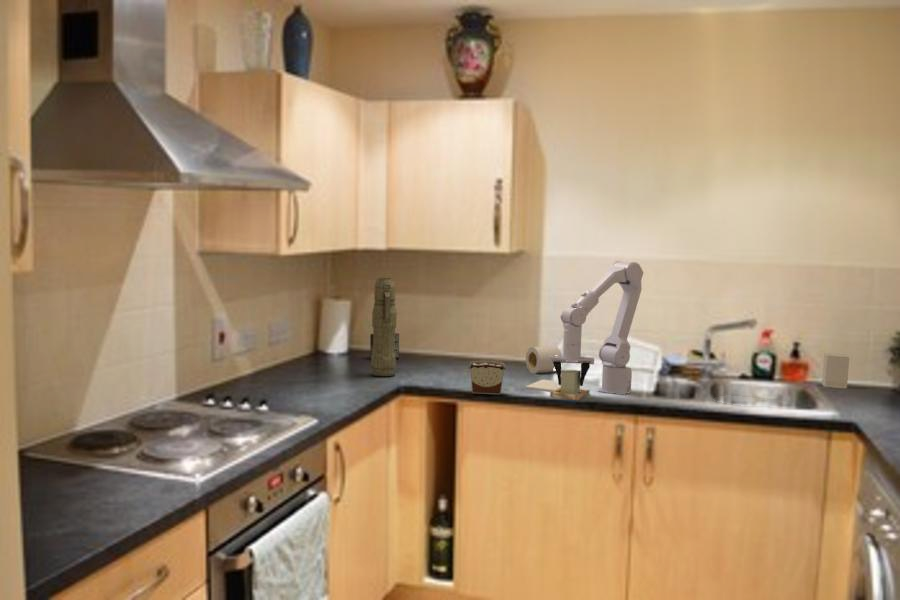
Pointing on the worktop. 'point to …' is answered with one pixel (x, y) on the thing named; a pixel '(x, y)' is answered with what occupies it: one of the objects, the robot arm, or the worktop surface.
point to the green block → (570, 381)
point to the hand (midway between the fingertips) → (570, 385)
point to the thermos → (384, 328)
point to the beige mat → (544, 386)
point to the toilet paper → (541, 359)
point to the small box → (395, 345)
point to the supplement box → (835, 370)
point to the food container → (487, 376)
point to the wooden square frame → (558, 394)
